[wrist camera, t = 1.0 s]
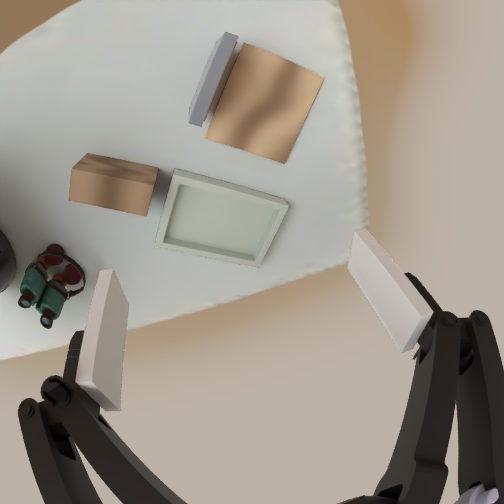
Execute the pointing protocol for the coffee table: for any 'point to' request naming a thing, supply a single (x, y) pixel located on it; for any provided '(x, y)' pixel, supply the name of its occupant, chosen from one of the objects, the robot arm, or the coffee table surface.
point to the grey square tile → (211, 78)
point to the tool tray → (218, 219)
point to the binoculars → (49, 284)
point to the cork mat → (263, 104)
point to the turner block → (112, 184)
